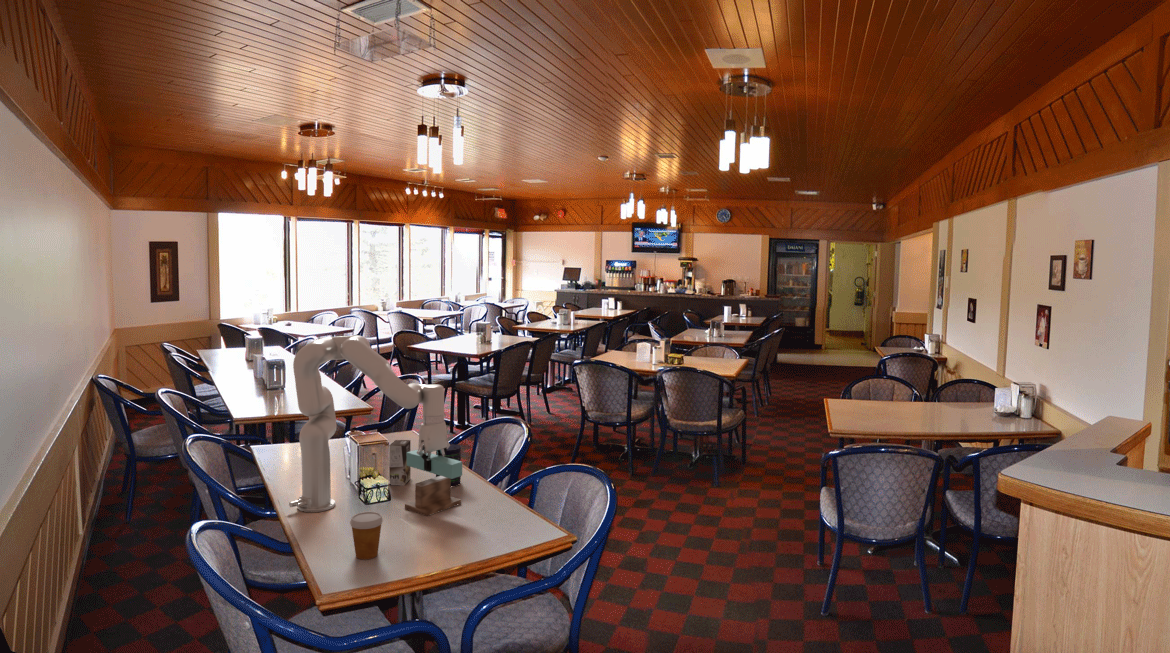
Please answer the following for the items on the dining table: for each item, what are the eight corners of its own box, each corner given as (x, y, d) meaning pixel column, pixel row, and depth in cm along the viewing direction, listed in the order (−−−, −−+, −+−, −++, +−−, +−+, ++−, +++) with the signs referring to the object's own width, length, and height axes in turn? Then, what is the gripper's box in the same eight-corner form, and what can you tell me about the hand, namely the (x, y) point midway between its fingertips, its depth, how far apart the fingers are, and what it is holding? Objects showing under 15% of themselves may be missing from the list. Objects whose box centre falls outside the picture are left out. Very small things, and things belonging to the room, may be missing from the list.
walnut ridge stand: (427, 516, 244) (427, 488, 243) (404, 508, 251) (404, 481, 250) (461, 503, 257) (461, 477, 256) (438, 496, 264) (438, 471, 263)
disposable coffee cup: (386, 548, 216) (386, 511, 215) (378, 562, 206) (378, 522, 205) (355, 548, 215) (355, 510, 214) (345, 562, 206) (345, 522, 205)
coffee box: (405, 485, 275) (404, 445, 274) (388, 485, 276) (388, 445, 274) (411, 478, 285) (411, 439, 283) (395, 478, 285) (395, 439, 283)
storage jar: (430, 485, 276) (430, 448, 275) (443, 478, 286) (443, 442, 284) (453, 488, 273) (453, 451, 272) (465, 481, 282) (465, 445, 281)
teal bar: (406, 465, 258) (406, 452, 257) (417, 462, 262) (417, 449, 261) (451, 478, 243) (451, 464, 243) (462, 475, 247) (462, 461, 247)
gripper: (444, 413, 260) (444, 461, 261) (407, 421, 246) (408, 472, 248) (458, 416, 255) (458, 465, 257) (421, 425, 242) (422, 476, 243)
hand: (433, 468), depth 252 cm, fingers closed on teal bar, 5 cm apart
